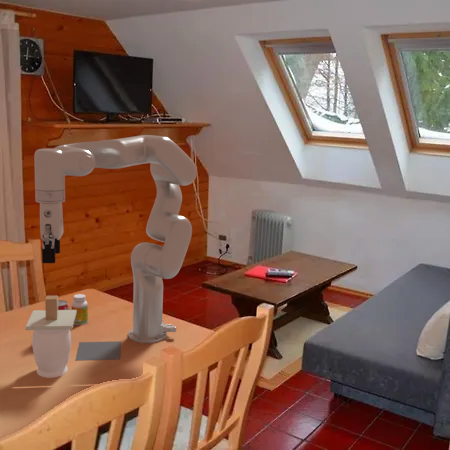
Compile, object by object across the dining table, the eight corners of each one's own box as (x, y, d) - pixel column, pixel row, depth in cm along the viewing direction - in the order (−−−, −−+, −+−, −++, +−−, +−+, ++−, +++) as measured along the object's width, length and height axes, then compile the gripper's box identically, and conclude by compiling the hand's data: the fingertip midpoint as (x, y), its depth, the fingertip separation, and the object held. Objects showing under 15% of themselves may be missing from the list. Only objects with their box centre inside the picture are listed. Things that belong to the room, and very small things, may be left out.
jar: (26, 370, 158) (24, 320, 155) (59, 360, 166) (59, 312, 162) (44, 384, 151) (43, 332, 148) (78, 373, 158) (78, 323, 155)
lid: (76, 313, 163) (76, 290, 161) (72, 329, 151) (71, 304, 150) (33, 313, 161) (32, 290, 159) (25, 330, 149) (25, 305, 148)
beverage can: (64, 343, 177) (63, 307, 175) (46, 340, 178) (45, 305, 176) (73, 335, 183) (73, 300, 181) (55, 333, 184) (55, 298, 182)
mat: (121, 342, 180) (121, 341, 180) (120, 360, 167) (120, 359, 167) (79, 343, 178) (79, 342, 178) (75, 361, 165) (75, 360, 165)
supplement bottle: (84, 326, 191) (83, 299, 189) (69, 324, 192) (68, 297, 190) (90, 320, 196) (90, 294, 194) (75, 318, 197) (75, 292, 195)
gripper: (60, 201, 141) (62, 267, 144) (68, 191, 158) (69, 249, 161) (29, 201, 140) (31, 267, 143) (40, 190, 156) (42, 249, 160)
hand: (51, 257), depth 152 cm, fingers open, 9 cm apart
